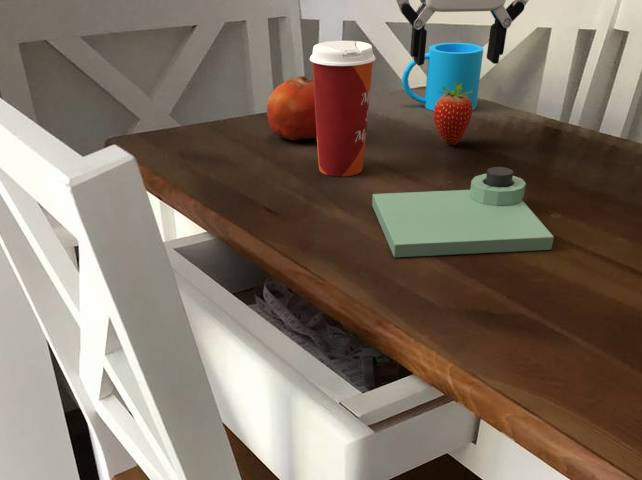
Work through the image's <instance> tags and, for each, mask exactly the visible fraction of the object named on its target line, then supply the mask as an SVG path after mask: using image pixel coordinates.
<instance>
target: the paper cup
mask: <svg viewBox="0 0 642 480" xmlns="http://www.w3.org/2000/svg"><path fill="white" fill-rule="evenodd" d="M373 49H374V48H373V46H372V44H370V43H368V42H364V41H359V40H330V41H323V42H319V43H316V44H314V45H313V47H312V54H311V55H310V57H309V61H310V62H311V63H312V76H313V78H312V79H313V81H314V99H315V116H316V133H317V137H316V147H317V160H318V161H317V163H318V169H319V172H320V173H321V174H323V175H325V176H331V177H343V178H344V177H351V176H355V175H359V174H361V173H362V171H363V169H364V161H365V152H366V151H365V150H366V140H367V130H368V118H369V109H370V108H369V107H370V98H371V97H370V96H371V86H372V73H373V62H375V61H376V60H377V59H376V56H375V54H374V51H373Z"/></svg>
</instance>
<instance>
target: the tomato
mask: <svg viewBox="0 0 642 480" xmlns="http://www.w3.org/2000/svg"><path fill="white" fill-rule="evenodd" d="M285 80H286V81H284V82H283V83H281V84H279V85H277V87H275V88H274V90H273V91H272V93H271V94H270V95H269V97H268V99H267V104H266V115H267V121H268V124H269V127H270V129H271V131H272V132H273V134H275V135H276V136H278V137H280V138H283V139H286V140H289V141H299V140H311V139H312V140H313V139H315V138H316V139H317V133H316V116H315V99H314V81H313V80H312V79H309V78H308V77H306V76H304V75H302V76H301V75H299V76H297V77H295V78H291V77H290V78H287V79H285Z"/></svg>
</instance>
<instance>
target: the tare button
mask: <svg viewBox="0 0 642 480" xmlns="http://www.w3.org/2000/svg"><path fill="white" fill-rule="evenodd" d="M486 174H487V175H486V182H485V184H486V185H489V186H491V187H499V188H500V187H509V186H511V184H512V178H513V176H514V170H513V169H511V168H508V167H505V166H494V167H493V166H492V167H489V168H488V169H487V170H486Z"/></svg>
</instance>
